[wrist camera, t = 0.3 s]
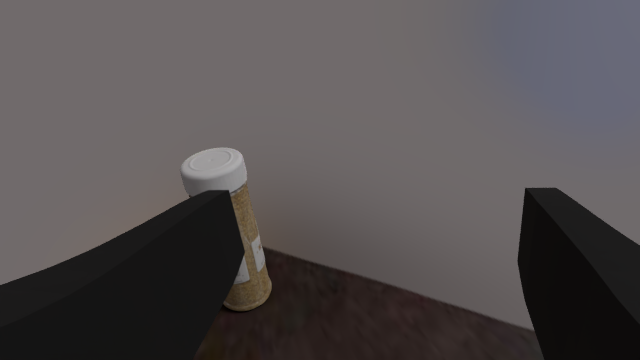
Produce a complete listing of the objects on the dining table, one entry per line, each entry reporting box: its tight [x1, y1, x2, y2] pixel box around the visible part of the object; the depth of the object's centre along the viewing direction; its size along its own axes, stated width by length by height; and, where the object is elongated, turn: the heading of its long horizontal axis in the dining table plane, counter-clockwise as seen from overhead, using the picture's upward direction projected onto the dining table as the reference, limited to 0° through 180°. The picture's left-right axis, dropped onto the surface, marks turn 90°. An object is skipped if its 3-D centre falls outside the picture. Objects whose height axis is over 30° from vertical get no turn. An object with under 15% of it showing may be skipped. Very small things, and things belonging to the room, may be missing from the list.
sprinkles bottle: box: [180, 148, 272, 311], centre depth 34 cm, size 5×5×14 cm
